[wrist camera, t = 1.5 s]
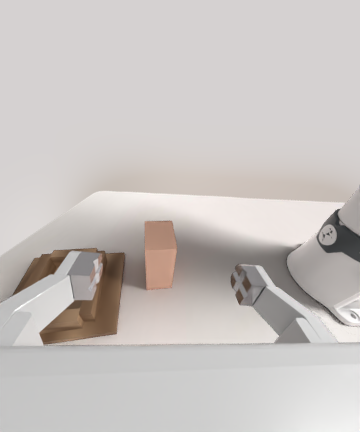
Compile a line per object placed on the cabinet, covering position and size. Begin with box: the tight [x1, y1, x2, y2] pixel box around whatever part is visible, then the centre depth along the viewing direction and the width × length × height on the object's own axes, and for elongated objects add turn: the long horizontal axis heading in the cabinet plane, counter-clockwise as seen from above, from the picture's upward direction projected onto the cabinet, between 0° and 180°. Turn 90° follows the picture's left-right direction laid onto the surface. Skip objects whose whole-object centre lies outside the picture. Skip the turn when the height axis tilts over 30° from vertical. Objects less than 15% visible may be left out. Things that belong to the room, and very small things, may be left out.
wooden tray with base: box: [12, 248, 125, 345], centre depth 27 cm, size 16×14×4 cm
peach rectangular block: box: [145, 221, 177, 290], centre depth 29 cm, size 4×6×11 cm
